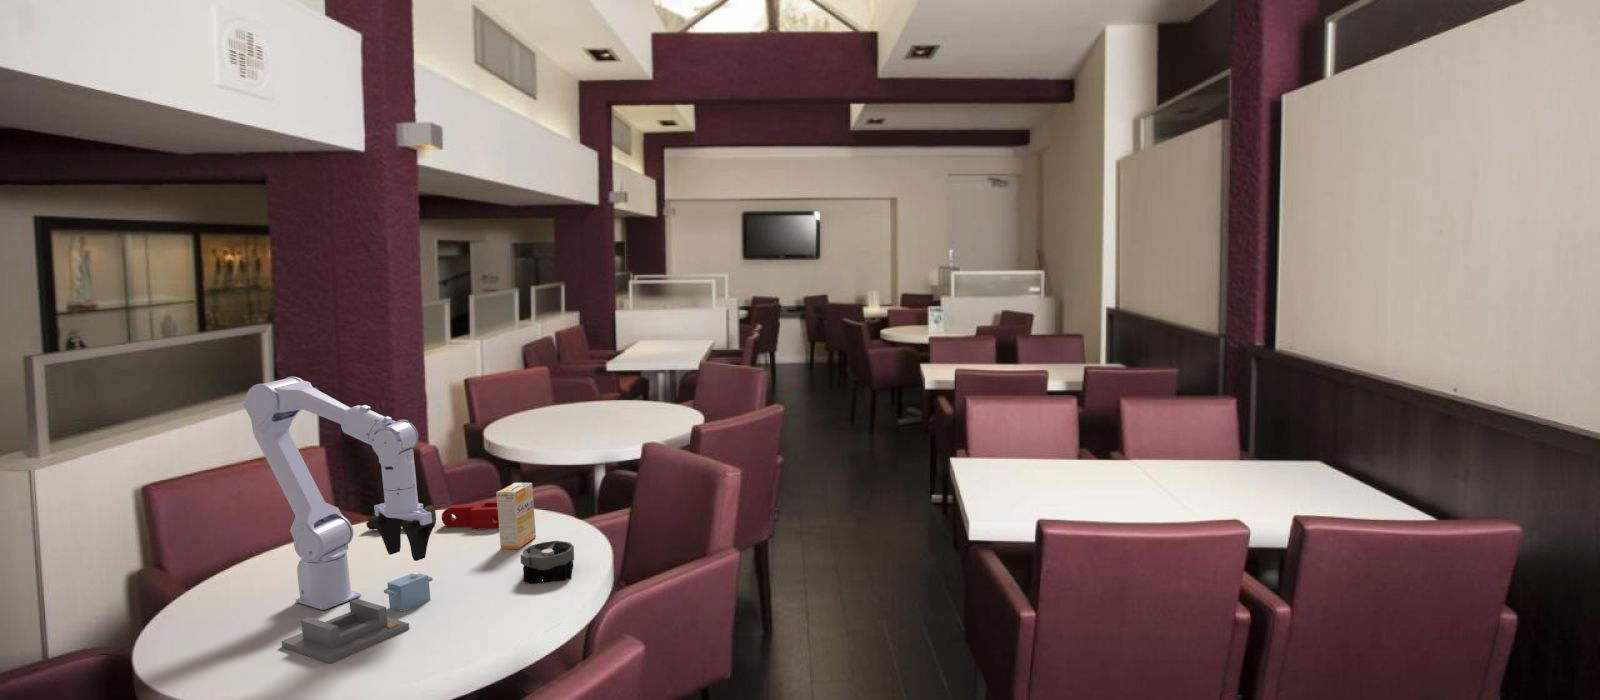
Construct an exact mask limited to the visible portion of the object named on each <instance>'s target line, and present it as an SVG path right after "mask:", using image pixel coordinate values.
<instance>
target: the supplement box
mask: <svg viewBox="0 0 1600 700" xmlns="http://www.w3.org/2000/svg"><path fill="white" fill-rule="evenodd" d="M533 491H534V489H533V483H532V482H513V483H511V484H510V485H508V486H505V487H503V488H502V489H500V490H498V491H496V492H495V493H496V501H497V507H498V520H499V529H498V531H499V532H498V533H499V543H500V544H499V545H500V549H506V550H508V549H509V550H513V549H514V550H519V549H521V548H522V547H523V546H525V545H526V544H528V543H529V542H530V541H532V540H533V539H535V538H537V537H536V536H537V534H536V533H537V532H536V520H535V506H534V492H533Z"/></svg>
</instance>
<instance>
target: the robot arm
mask: <svg viewBox="0 0 1600 700" xmlns="http://www.w3.org/2000/svg"><path fill="white" fill-rule="evenodd" d="M242 404H243V407H244V409H245V411H246V412H247V414H248V416H249V419H250V421H251V427H252V433H253V436H254V439H255V441H256V442H257V443H258V446H259V448H260V450H261V451H262V453H263V456H264V458H265V459H266V461H267V463H268V465H269V467H270V469H271V471H272V473H273V475H274V477H275V479H276V480H277V482H278V484H279V486H280V487H279V488H281V491H282V492H283V494H284V496H285V499H286V500H287V502H288V504H289V506H290V507H291V510H292V511H293V513H294V516H295V517H294V520H293V522H292V525H291V526H290V529H289V531H290V534H291V536H292V539H293V548H294V551H295V552H296V554H297V556H298V557H299V558H300V560H299V561H298V564H297V566H296V567H297V568H296V574H297V575H296V576H297V582H298V593H299V597H298V598H296V599H295V602H296V603H299V604H302V605H305V606H308V607H310V608H311V607H312V608H315V609H318V610H321V611H325V610H328V609H330V608H333V607H336V606H338V605H340V604H343V603H345V602H350V601H352V600H355V599H358V598H359V597H361V596H362V593H360V592H357V591H354V590H351V589H352V587H351V581H350V580H351V578H350V571H349V570H350V569H349V562H348V561H349V560H348V550H349V544H350V543H351V542H352V540H353V538H354V533H355V532H354V528H353V525H352V523H351V521H350V520H348V518H346V517H345V516H344V515H343V514H342V513H341V511H340V509H339V507H337V506H334V505H332V504H329V503H327V502H326V501H325V499H324V497H323V496H322V494H321V491H320V490H319V487H318V486H317V484H316V481H315V480H314V477H313V476H312V474H311V472H310V470H309V468H308V466H307V465H306V462H305V461H304V459H303V456H302V454H301V453H300V450H299V449H298V447H297V445H296V442H295V441H294V439H293V437H292V434H290V430H289V429H290V428H291V425H292V422H293V421H294V419H295V418H296V417H297V416H298V414H299V413H300V412H301V411H302V410H304V411H306V412H310V413H311V414H314V415H316V416H319V417H322V418H325V419H326V420H327V419H328V420H329V421H332V422H335V423H337V424H340V426H341V430H342V432H343V433H344V434H346V435H348V436H350V437H353V438H355V439H357V440H359V441H361V442H363V443H366V444H368V445H370V446H371V448H372V450H373V451H374V453H375V454H376V455H377V457H378V463H379V464H380V468H381V475H382V477H381V478H382V485H383V486H382V487H383V488H382V489H383V496H384V497H383V498H384V502H382V503H379V504H375V505H373V508H374V509H373V510H374V516H379V517H378V519H375V520H373V521H372V523H373V525H374V526H375V527H376V529H375V530H377V532H378V533H379V535H380V537H381V538H382V541H383V544H384V546H385V549H386V551H387V553H388V555H395V554H397V553H400V552H401V547H402V546H401V545H402V543H401V541H402V540H401V538H402V537H401V532H402V530H403V532H404V533H405V535H406V537H407V539H408V544H409V546H410V553H411V557H412V559H413V561H415V562H417V561H421V560H424V559H426V555H427V549H428V543H429V539H430V536H431V534H432V531H433V529H434V527H435V526H436V524H435V521H433V520H432V515H431V513H430V512H427V511H425V510H424V504H423V503H421V502H419V499H418V488H417V487H418V486H417V476H416V466H415V457H414V456H415V455H414V454H415V453H414V447H416V445H417V443H419V442H418V441H419V432H418V429H417V428H416V427H415V426H414V424H413V423H411V422H409V421H408V419H400V420H396V421H395V420H394V419H393V417H390V416H388V415H387V416H384V415H382V414H379V413H378V412H375V411H373V410H371V406H369V405H367V404H363V405H355V406H352V407H350V406H348V405H346V404H344V403H342V402H341V401H339V400H337V399H335V398H333V397H331V396H330V395H328V394H326V393H324V392H322V391H320V390H318V389H317V388H315V387H313V385H312V384H311V382H310V381H307V380H303V379H301V378H300V377H299V376H298V377H297V376H288V377H286V378H284V379H283V378H282V379H279V380H275V381H270V382H265V383H257V384H254V385H252V386H251V387H250V388H249V390H248V391H247V393H246V396H245V399H244V402H243V403H242ZM403 520H407V521H412V524H409V525H406V526H403V527H401V525H402V521H403ZM315 523H317V524H315Z"/></svg>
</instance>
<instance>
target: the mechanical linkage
mask: <svg viewBox="0 0 1600 700" xmlns="http://www.w3.org/2000/svg"><path fill="white" fill-rule="evenodd" d="M453 516H454V517H453ZM441 521H442V524H444V526H446V527H447V528H468V527H469V528H470V527H471V530H475V531H476V530H497V529H498V530H499V520H498V507H497V500H482V501H479V502H478V503H472V504H470V503H469V504H452V505H450V506H448V507H447V508H446V509H444V510H443V512H442V514H441Z"/></svg>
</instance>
